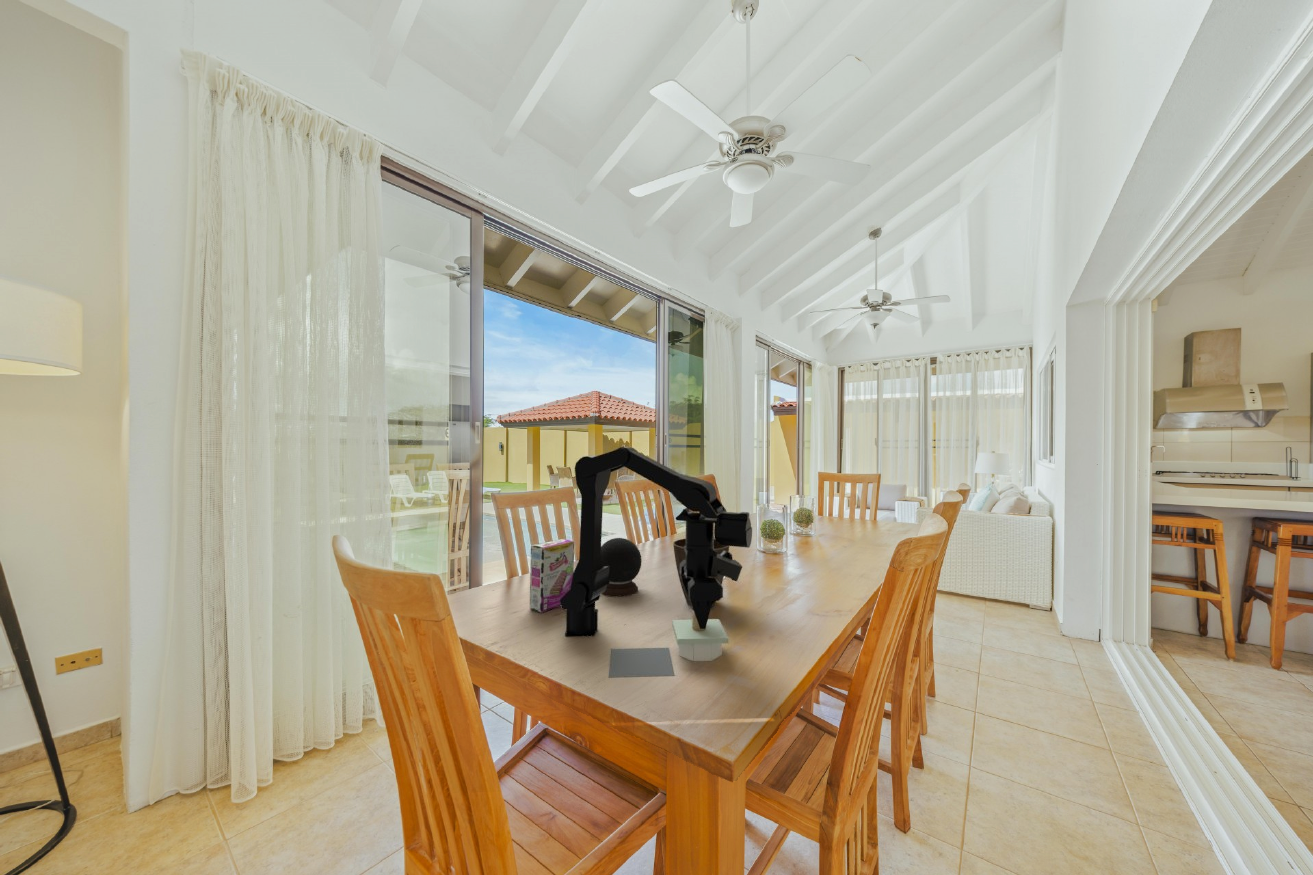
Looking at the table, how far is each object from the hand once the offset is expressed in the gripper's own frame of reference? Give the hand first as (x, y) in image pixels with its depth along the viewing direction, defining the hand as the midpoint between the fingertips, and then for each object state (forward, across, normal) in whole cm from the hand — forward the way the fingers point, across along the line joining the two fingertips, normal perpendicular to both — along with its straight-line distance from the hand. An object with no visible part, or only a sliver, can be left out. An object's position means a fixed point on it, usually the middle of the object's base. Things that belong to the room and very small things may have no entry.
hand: (699, 619), depth 100 cm
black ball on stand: (+7, +42, +17) cm, 46 cm away
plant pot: (+7, +30, -5) cm, 31 cm away
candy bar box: (+7, +30, +34) cm, 46 cm away
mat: (+7, -4, +12) cm, 14 cm away
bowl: (+7, 0, 0) cm, 7 cm away
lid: (+3, 0, 0) cm, 3 cm away
